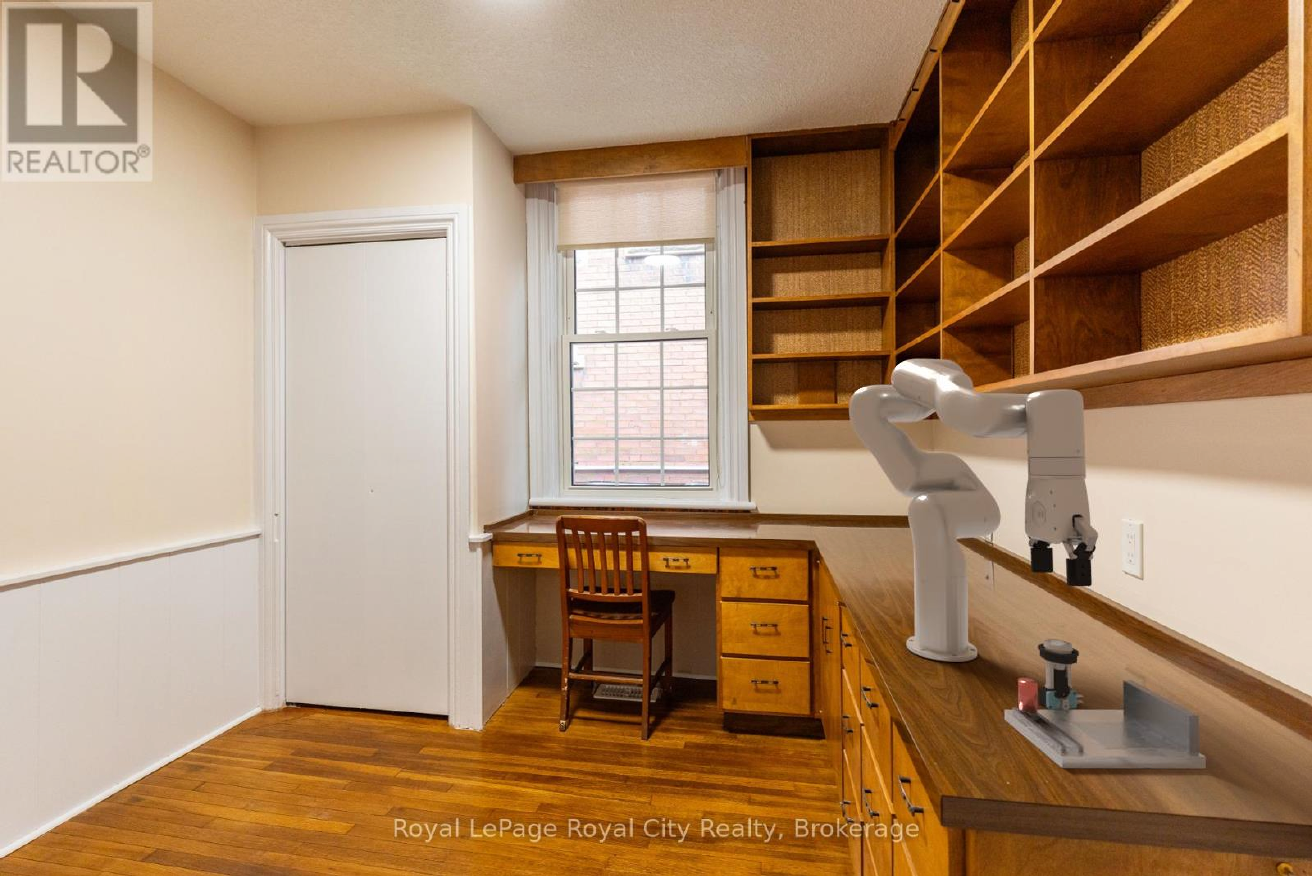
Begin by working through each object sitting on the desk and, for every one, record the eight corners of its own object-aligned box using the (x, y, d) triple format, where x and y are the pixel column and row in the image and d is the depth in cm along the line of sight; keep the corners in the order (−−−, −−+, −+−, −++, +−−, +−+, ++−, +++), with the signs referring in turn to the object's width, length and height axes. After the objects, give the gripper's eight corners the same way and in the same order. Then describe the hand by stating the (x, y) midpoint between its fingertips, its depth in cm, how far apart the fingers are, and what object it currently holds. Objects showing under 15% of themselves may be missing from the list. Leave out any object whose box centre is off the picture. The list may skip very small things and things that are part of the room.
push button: (1069, 697, 96) (1068, 636, 96) (1096, 713, 90) (1095, 647, 90) (1030, 699, 95) (1029, 637, 95) (1055, 715, 90) (1054, 649, 90)
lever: (1013, 710, 88) (1013, 677, 88) (1030, 710, 88) (1029, 677, 88) (1025, 720, 85) (1025, 685, 85) (1042, 720, 85) (1042, 685, 85)
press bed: (1004, 719, 89) (1004, 676, 89) (1126, 719, 88) (1126, 676, 88) (1061, 768, 76) (1061, 717, 76) (1205, 768, 75) (1205, 717, 75)
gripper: (1003, 467, 102) (1006, 567, 101) (1063, 471, 84) (1067, 591, 84) (1049, 467, 101) (1053, 567, 100) (1119, 470, 84) (1124, 592, 83)
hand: (1059, 578), depth 92 cm, fingers open, 9 cm apart
